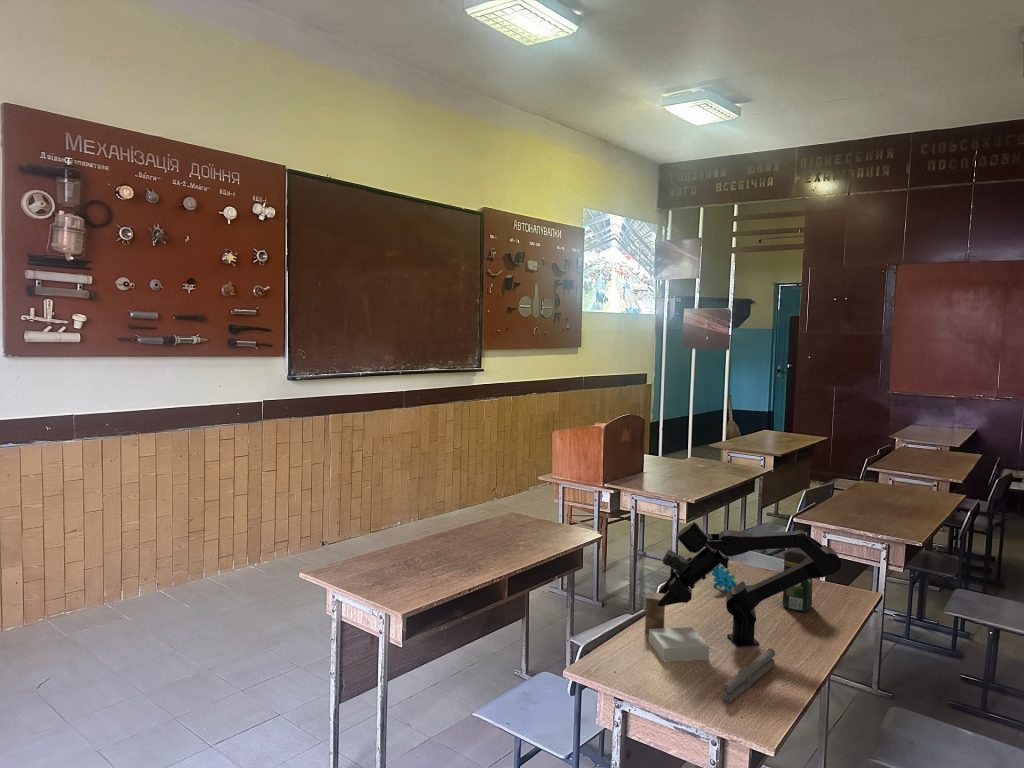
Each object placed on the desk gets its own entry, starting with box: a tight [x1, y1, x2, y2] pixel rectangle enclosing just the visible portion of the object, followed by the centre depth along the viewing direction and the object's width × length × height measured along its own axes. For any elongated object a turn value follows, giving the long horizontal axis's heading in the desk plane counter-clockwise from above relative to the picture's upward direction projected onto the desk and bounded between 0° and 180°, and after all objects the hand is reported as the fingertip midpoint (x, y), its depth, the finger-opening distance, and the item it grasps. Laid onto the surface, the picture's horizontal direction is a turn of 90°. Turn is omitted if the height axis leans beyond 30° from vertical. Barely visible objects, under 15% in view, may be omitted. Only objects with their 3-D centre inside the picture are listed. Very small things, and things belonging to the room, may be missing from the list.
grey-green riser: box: [648, 626, 710, 662], centre depth 184 cm, size 12×12×4 cm
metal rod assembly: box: [722, 648, 776, 705], centre depth 166 cm, size 26×3×5 cm, turn 137°
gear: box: [711, 564, 738, 593], centre depth 230 cm, size 11×6×10 cm
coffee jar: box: [781, 548, 813, 612], centre depth 215 cm, size 10×8×19 cm
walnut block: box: [644, 591, 666, 634], centre depth 196 cm, size 5×5×10 cm
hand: (659, 599), depth 196 cm, fingers open, 9 cm apart
